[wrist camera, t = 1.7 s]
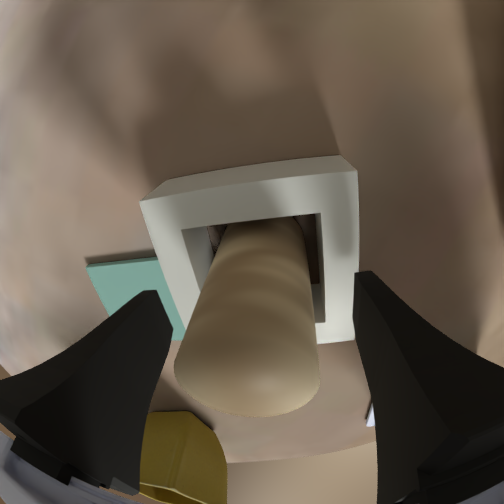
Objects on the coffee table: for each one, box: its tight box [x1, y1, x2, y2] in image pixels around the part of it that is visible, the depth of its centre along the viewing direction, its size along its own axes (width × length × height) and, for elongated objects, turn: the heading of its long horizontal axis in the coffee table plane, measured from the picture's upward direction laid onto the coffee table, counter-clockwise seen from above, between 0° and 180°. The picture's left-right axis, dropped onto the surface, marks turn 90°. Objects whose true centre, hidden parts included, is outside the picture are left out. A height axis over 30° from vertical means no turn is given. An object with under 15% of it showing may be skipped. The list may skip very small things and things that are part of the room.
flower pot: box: [139, 411, 227, 504], centre depth 21 cm, size 9×9×9 cm
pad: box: [86, 257, 186, 340], centre depth 17 cm, size 6×6×1 cm
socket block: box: [139, 155, 359, 344], centre depth 13 cm, size 8×8×3 cm
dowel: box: [174, 216, 320, 417], centre depth 11 cm, size 4×4×8 cm
